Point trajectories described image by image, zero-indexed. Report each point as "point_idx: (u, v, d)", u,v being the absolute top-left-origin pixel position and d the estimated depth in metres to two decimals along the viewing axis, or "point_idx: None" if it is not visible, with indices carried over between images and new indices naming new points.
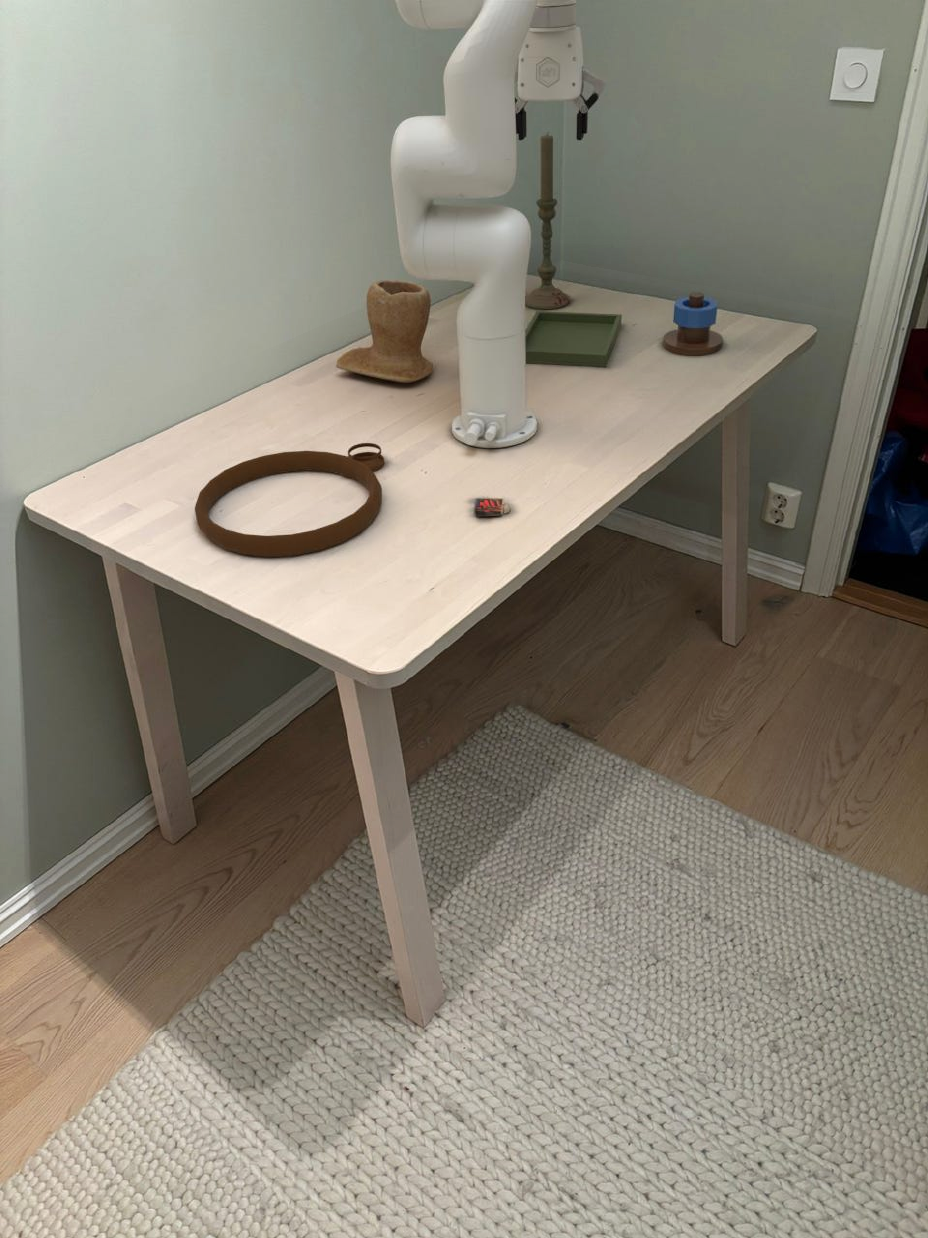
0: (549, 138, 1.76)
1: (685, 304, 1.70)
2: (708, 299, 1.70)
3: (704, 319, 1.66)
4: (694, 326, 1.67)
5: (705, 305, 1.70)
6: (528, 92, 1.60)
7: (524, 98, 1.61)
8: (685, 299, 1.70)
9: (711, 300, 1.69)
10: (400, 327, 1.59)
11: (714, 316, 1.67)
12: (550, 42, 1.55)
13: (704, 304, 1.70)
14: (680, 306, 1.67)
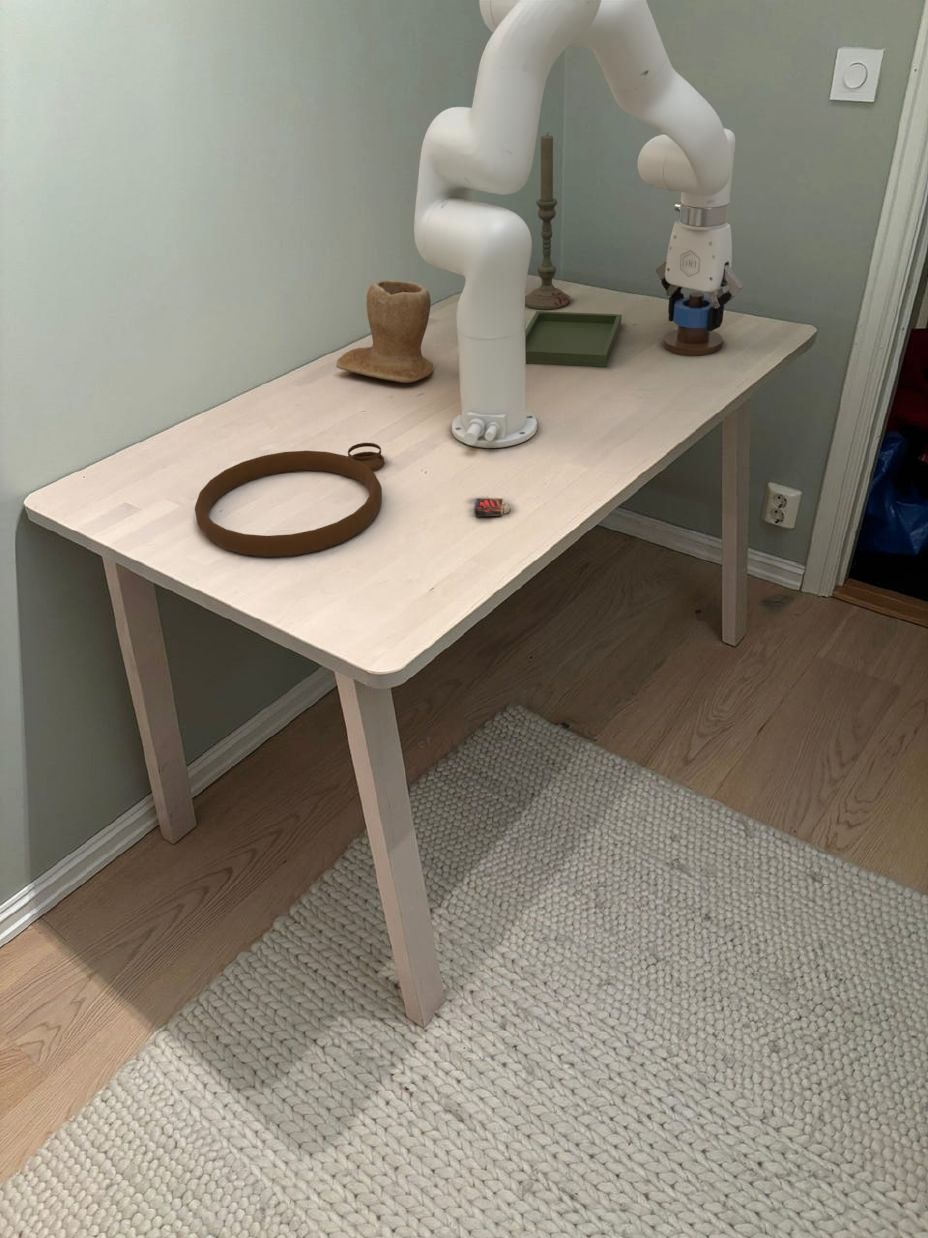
0: (549, 138, 1.76)
1: (685, 304, 1.70)
2: (708, 299, 1.70)
3: (704, 319, 1.66)
4: (694, 326, 1.67)
5: (705, 305, 1.70)
6: (672, 277, 1.66)
7: (669, 281, 1.67)
8: (685, 299, 1.70)
9: None
10: (400, 327, 1.59)
11: None
12: (693, 237, 1.60)
13: (704, 304, 1.70)
14: (680, 306, 1.67)
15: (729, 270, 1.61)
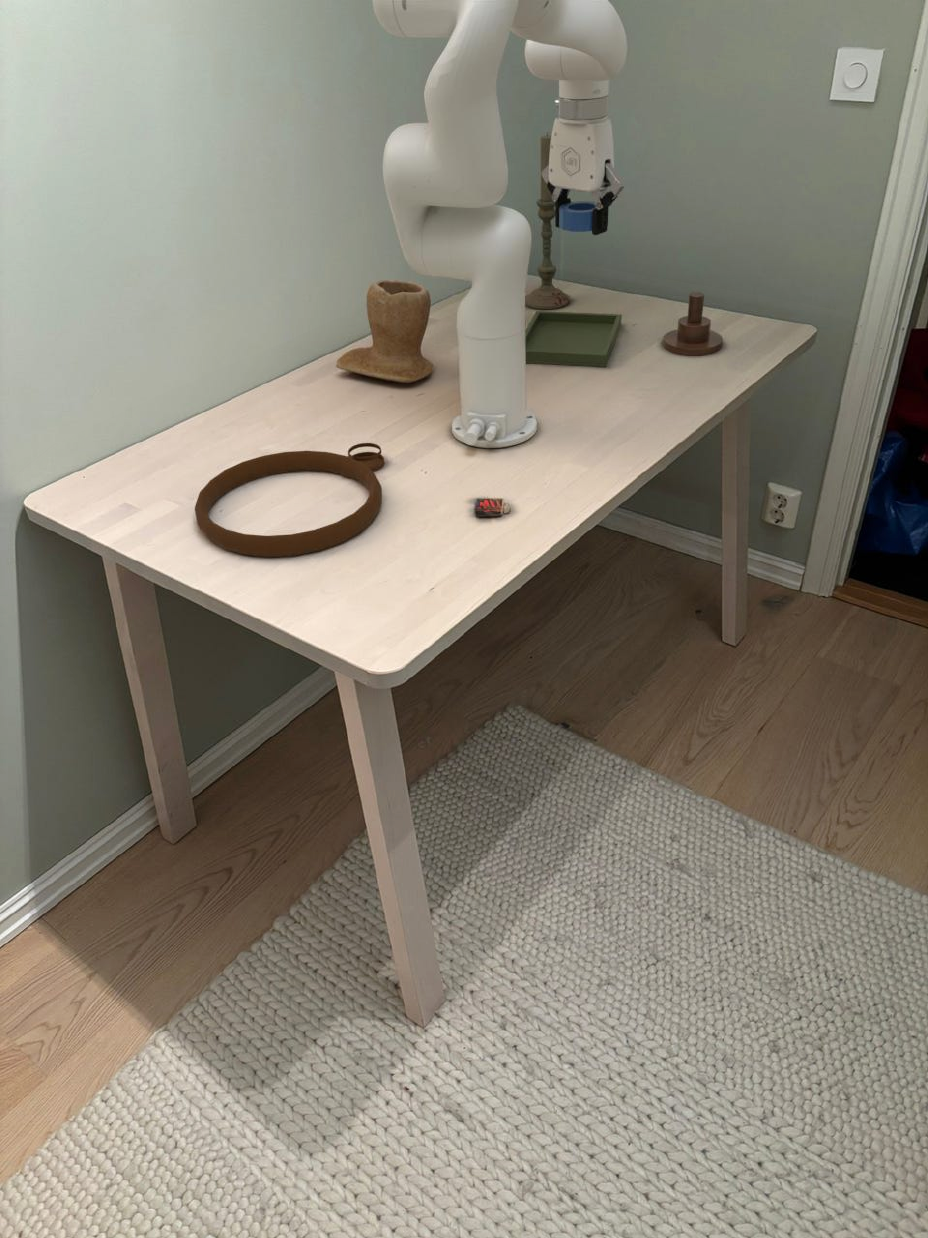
0: (549, 138, 1.76)
1: (572, 208, 1.64)
2: None
3: (588, 222, 1.60)
4: (578, 229, 1.61)
5: None
6: (555, 178, 1.60)
7: (552, 183, 1.61)
8: (572, 203, 1.64)
9: None
10: (400, 327, 1.59)
11: None
12: (572, 133, 1.54)
13: (591, 208, 1.64)
14: (564, 209, 1.61)
15: (610, 168, 1.55)
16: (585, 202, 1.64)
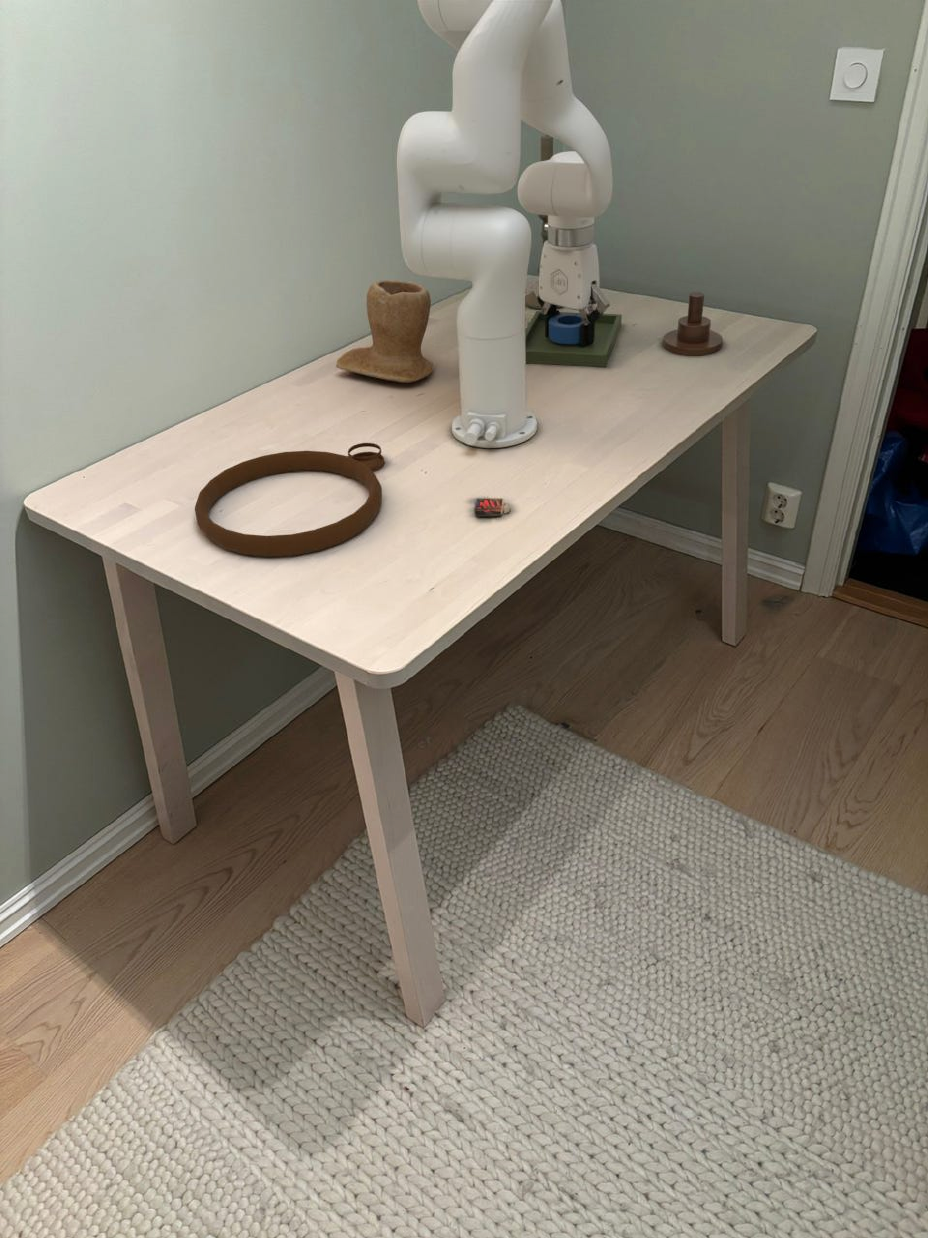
0: (549, 138, 1.76)
1: (560, 321, 1.75)
2: None
3: (576, 335, 1.72)
4: (567, 342, 1.72)
5: (579, 322, 1.75)
6: (545, 295, 1.71)
7: (542, 299, 1.72)
8: (560, 316, 1.75)
9: None
10: (400, 327, 1.59)
11: None
12: (561, 257, 1.65)
13: (579, 321, 1.75)
14: (554, 323, 1.73)
15: (596, 289, 1.66)
16: (573, 314, 1.76)
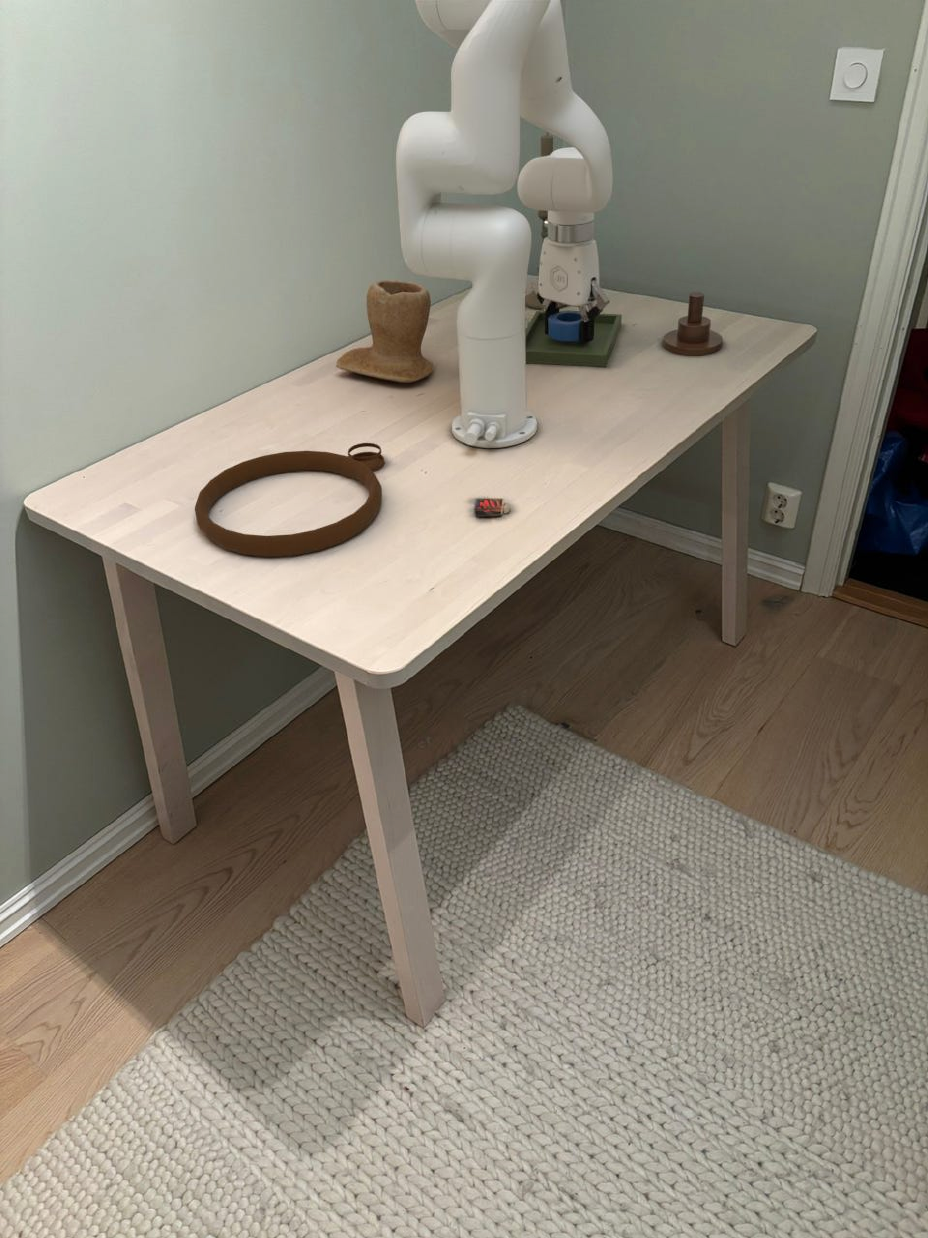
0: (549, 138, 1.76)
1: (560, 318, 1.75)
2: None
3: (576, 332, 1.71)
4: (566, 339, 1.72)
5: (579, 319, 1.74)
6: (544, 292, 1.71)
7: (542, 296, 1.72)
8: (560, 313, 1.75)
9: None
10: (400, 327, 1.59)
11: None
12: (560, 253, 1.65)
13: (578, 318, 1.74)
14: (553, 320, 1.72)
15: (596, 285, 1.66)
16: (573, 312, 1.75)
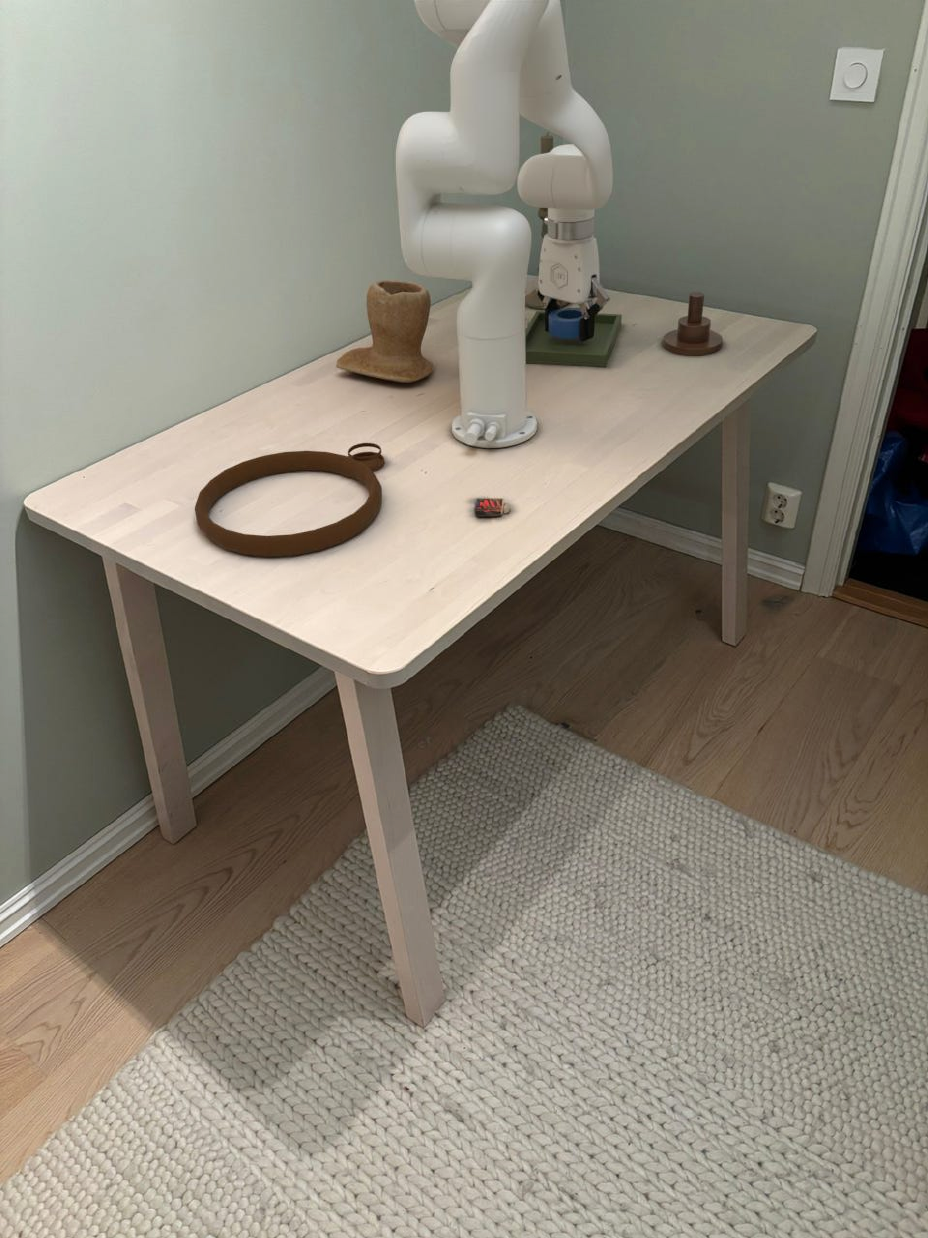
0: (549, 138, 1.76)
1: (560, 315, 1.75)
2: None
3: (576, 330, 1.71)
4: (567, 336, 1.72)
5: (579, 316, 1.74)
6: (545, 289, 1.71)
7: (542, 293, 1.71)
8: (560, 310, 1.75)
9: None
10: (400, 327, 1.59)
11: None
12: (561, 251, 1.64)
13: (578, 315, 1.74)
14: (553, 317, 1.72)
15: (596, 282, 1.66)
16: (573, 309, 1.75)
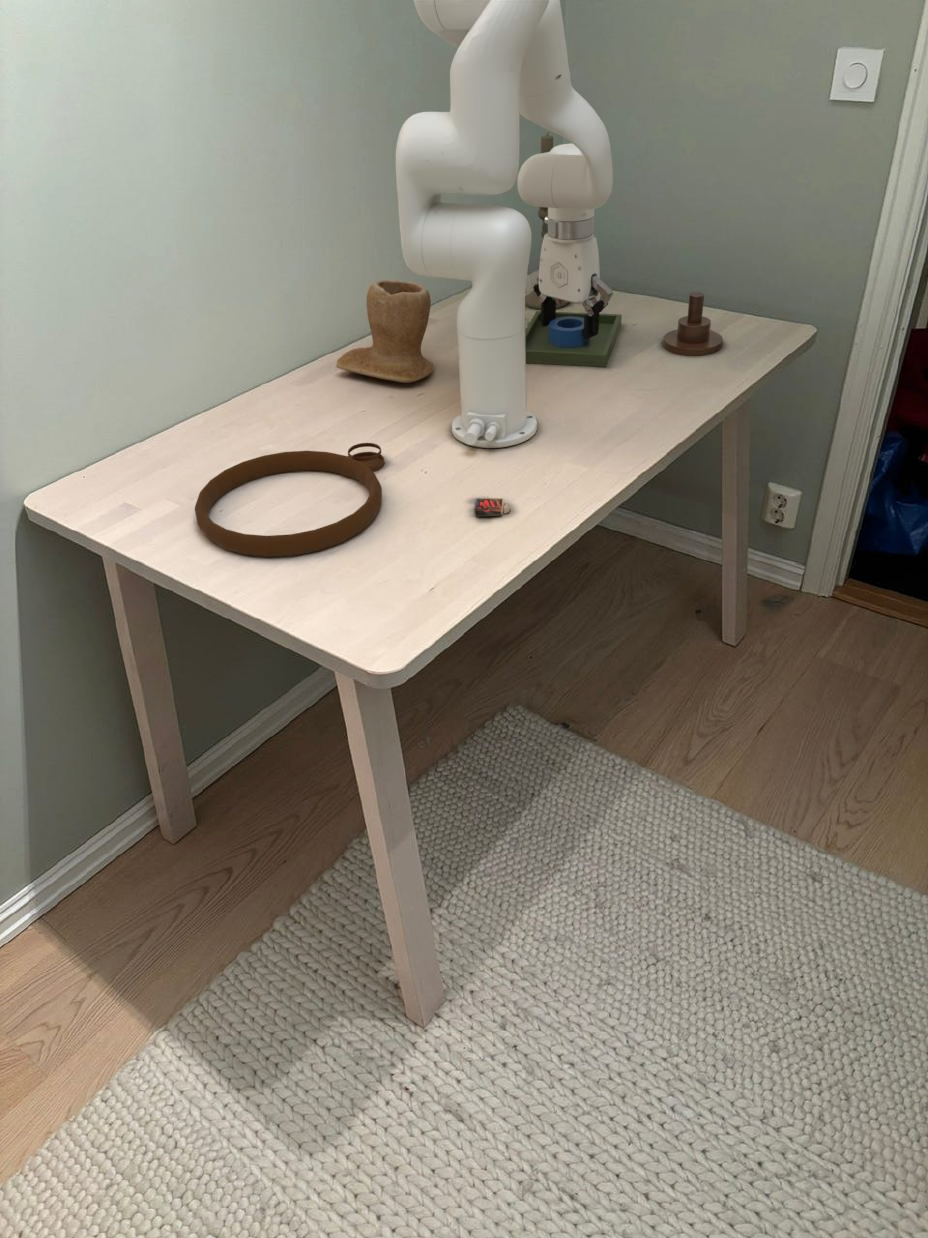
0: (549, 138, 1.76)
1: (560, 324, 1.76)
2: (582, 319, 1.75)
3: (576, 339, 1.72)
4: (567, 345, 1.73)
5: (579, 325, 1.75)
6: (545, 288, 1.70)
7: (542, 292, 1.71)
8: (560, 319, 1.76)
9: None
10: (400, 327, 1.59)
11: None
12: (561, 250, 1.64)
13: (578, 324, 1.75)
14: (553, 326, 1.73)
15: (597, 279, 1.65)
16: (573, 318, 1.76)
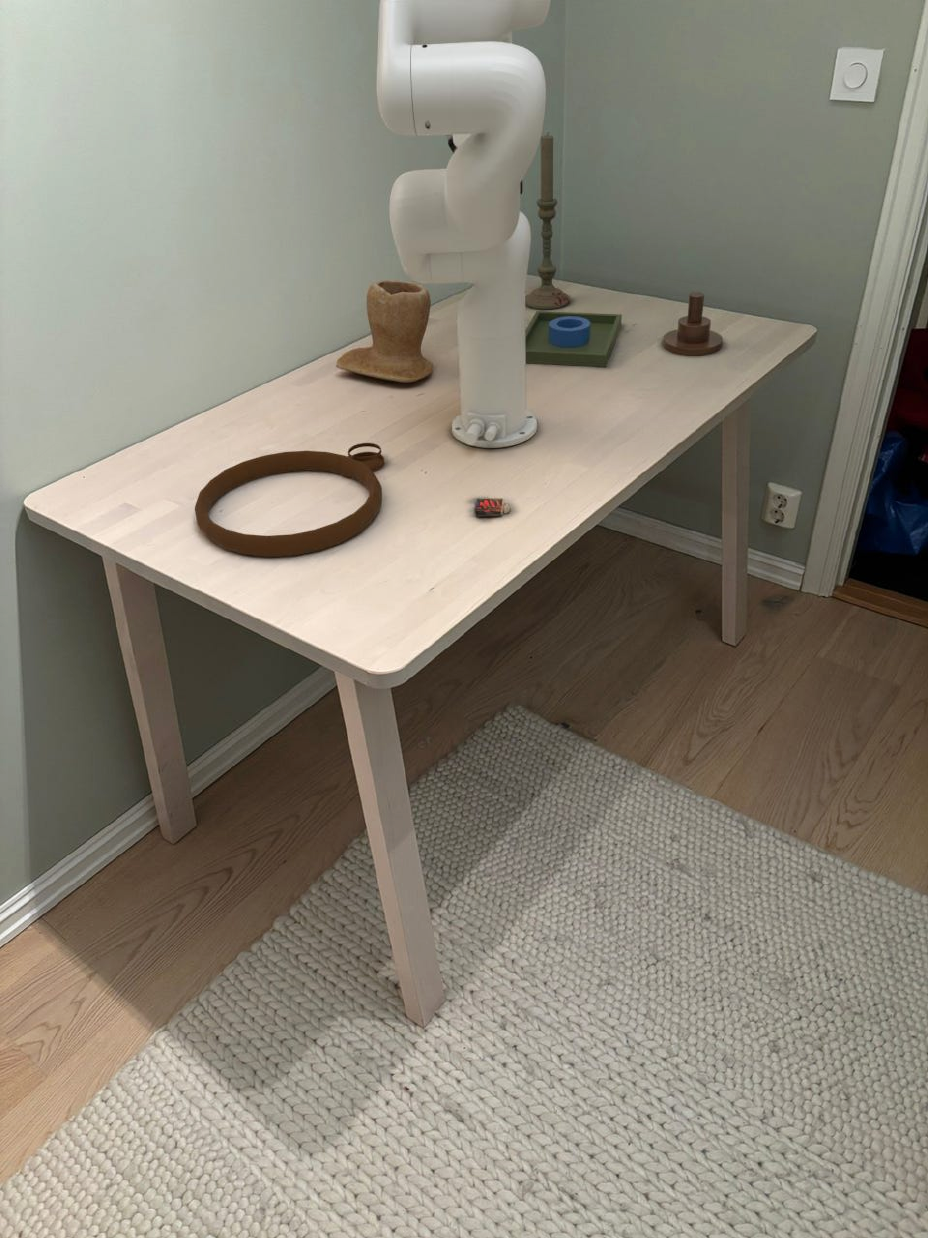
0: (549, 138, 1.76)
1: (560, 324, 1.76)
2: (582, 319, 1.75)
3: (576, 339, 1.72)
4: (567, 345, 1.73)
5: (579, 325, 1.75)
6: (459, 139, 1.47)
7: (456, 145, 1.48)
8: (560, 319, 1.76)
9: (585, 320, 1.75)
10: (400, 327, 1.59)
11: (586, 336, 1.73)
12: None
13: (578, 324, 1.75)
14: (553, 326, 1.73)
15: None
16: (573, 318, 1.76)
